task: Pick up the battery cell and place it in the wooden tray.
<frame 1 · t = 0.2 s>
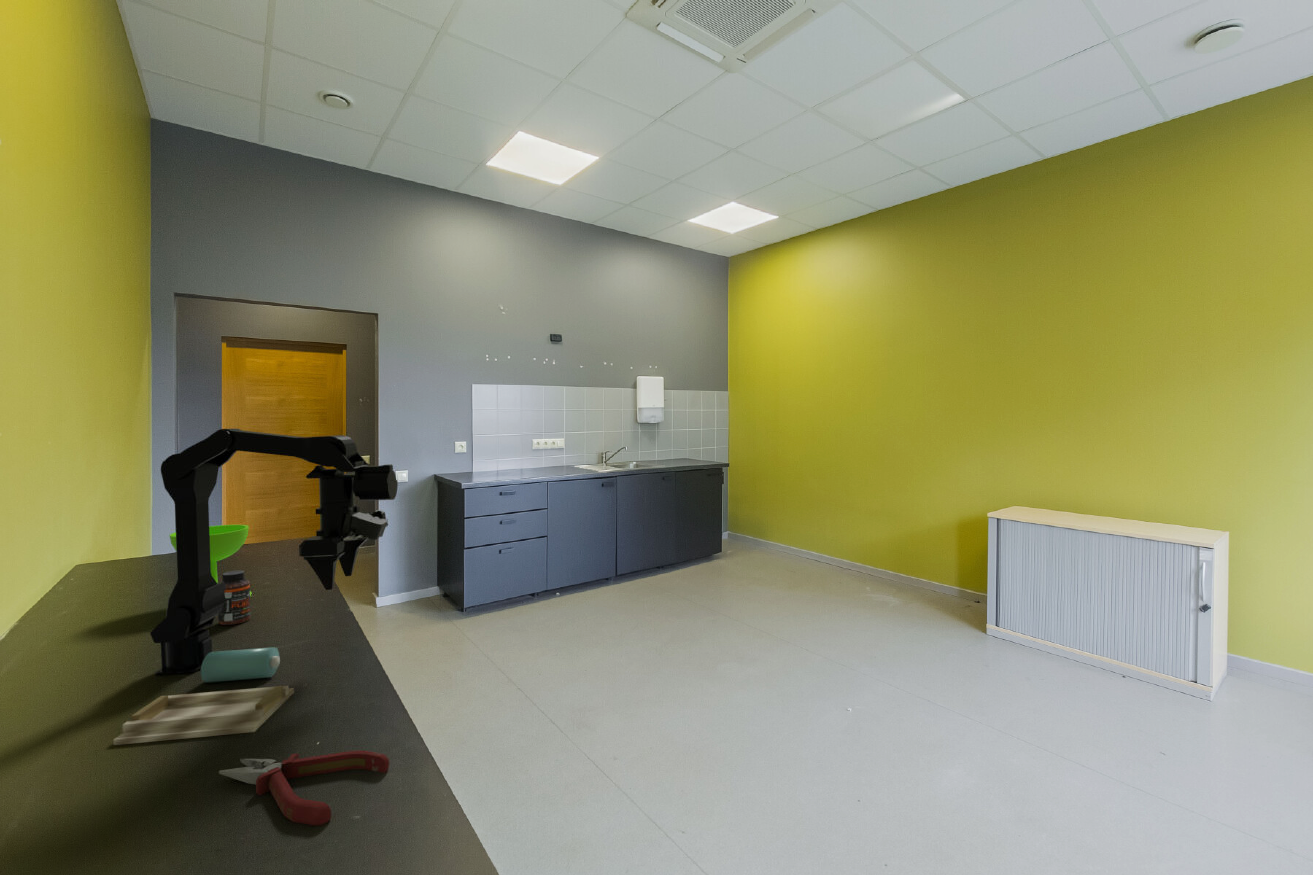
hand: (339, 582, 108), 14 cm above the table, tool pointing down, fingers open, 9 cm apart
pliers: (310, 782, 71), on the table
battery cell: (242, 678, 100), on the table
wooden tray: (211, 716, 87), on the table
supplement bottle: (235, 622, 129), on the table
green tapered container: (213, 600, 145), on the table
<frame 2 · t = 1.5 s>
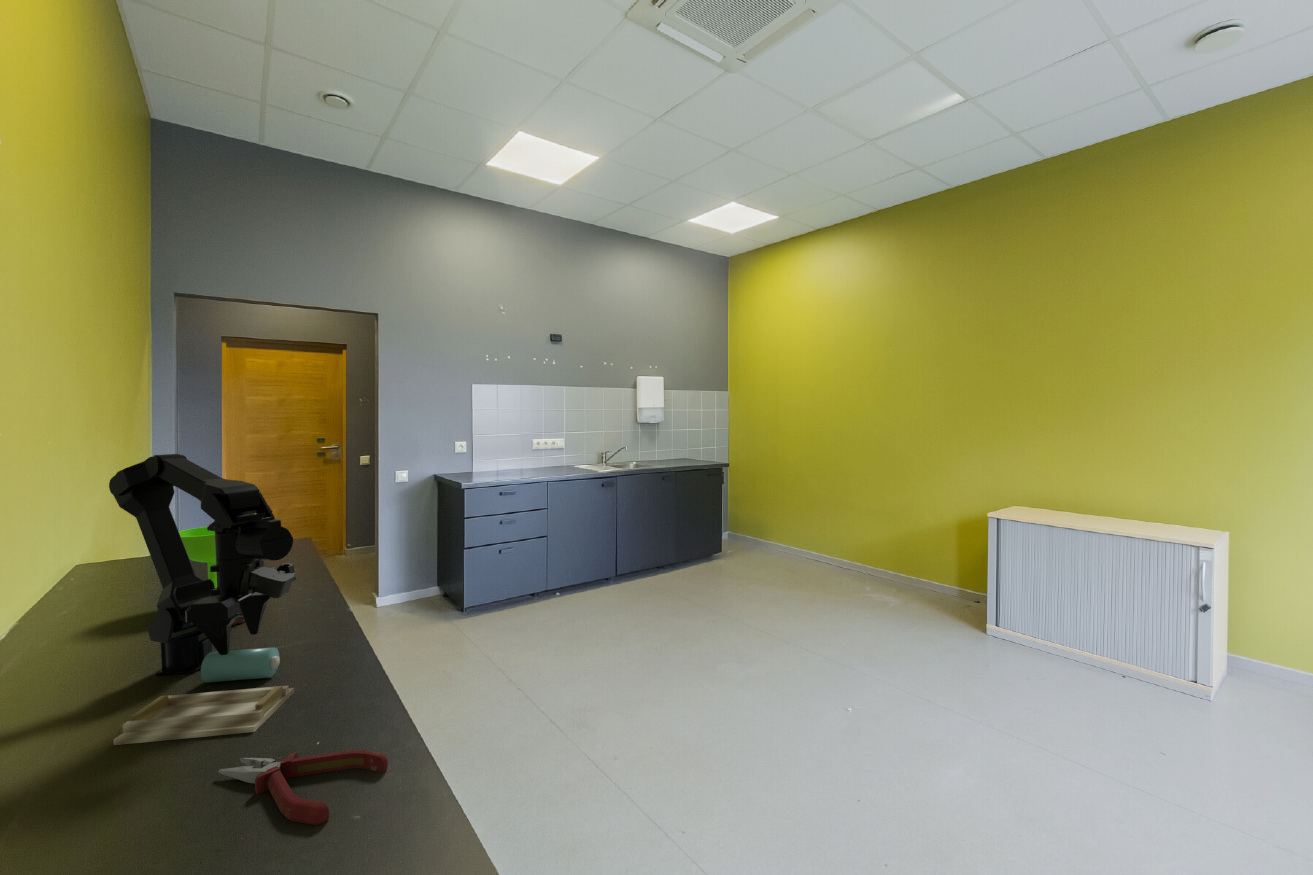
hand: (240, 643, 100), 6 cm above the table, tool pointing down, fingers open, 9 cm apart
nothing on the table moved.
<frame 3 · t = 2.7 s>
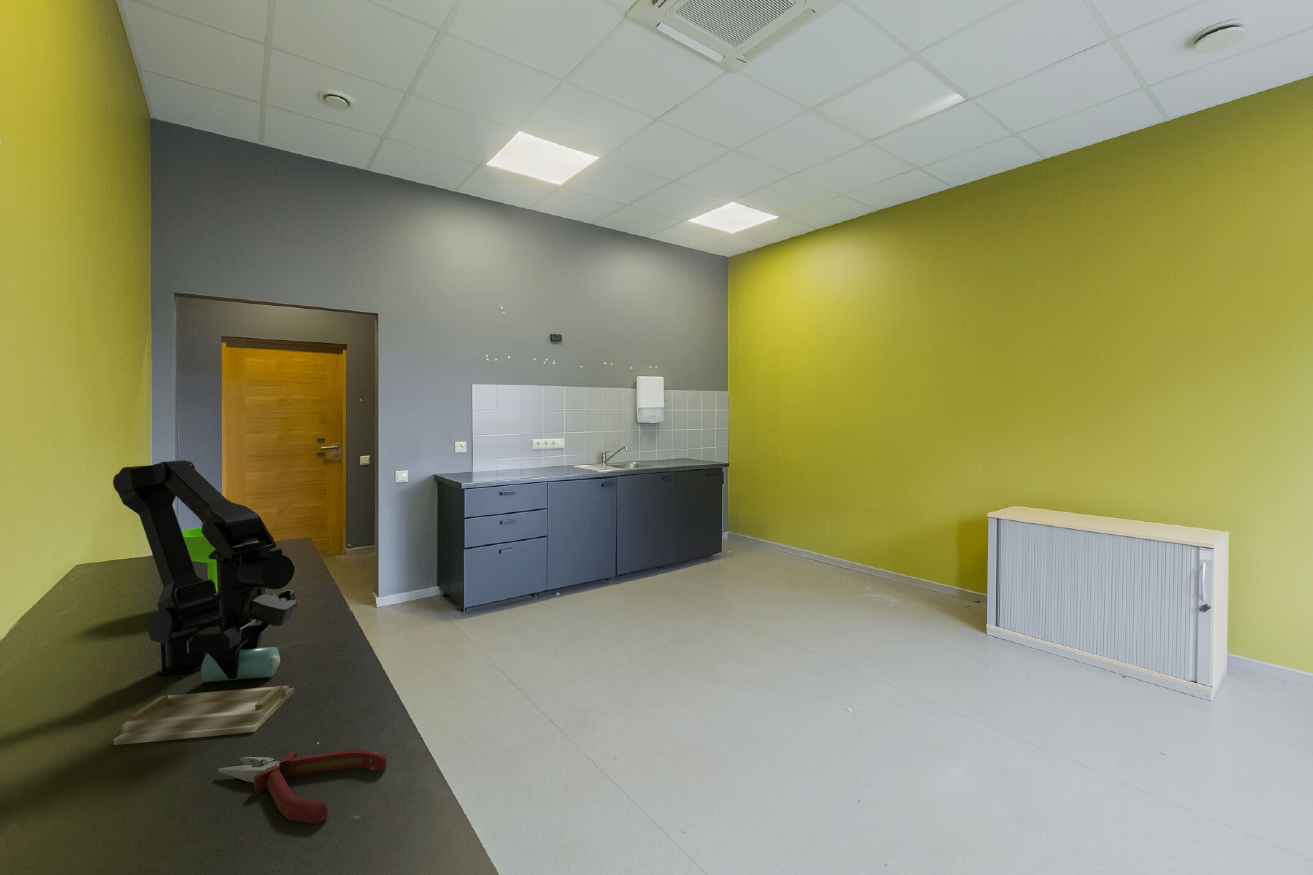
hand: (241, 671, 100), 1 cm above the table, tool pointing down, fingers closed on battery cell, 5 cm apart
battery cell: (242, 677, 100), on the table, touching gripper
everything else where it was.
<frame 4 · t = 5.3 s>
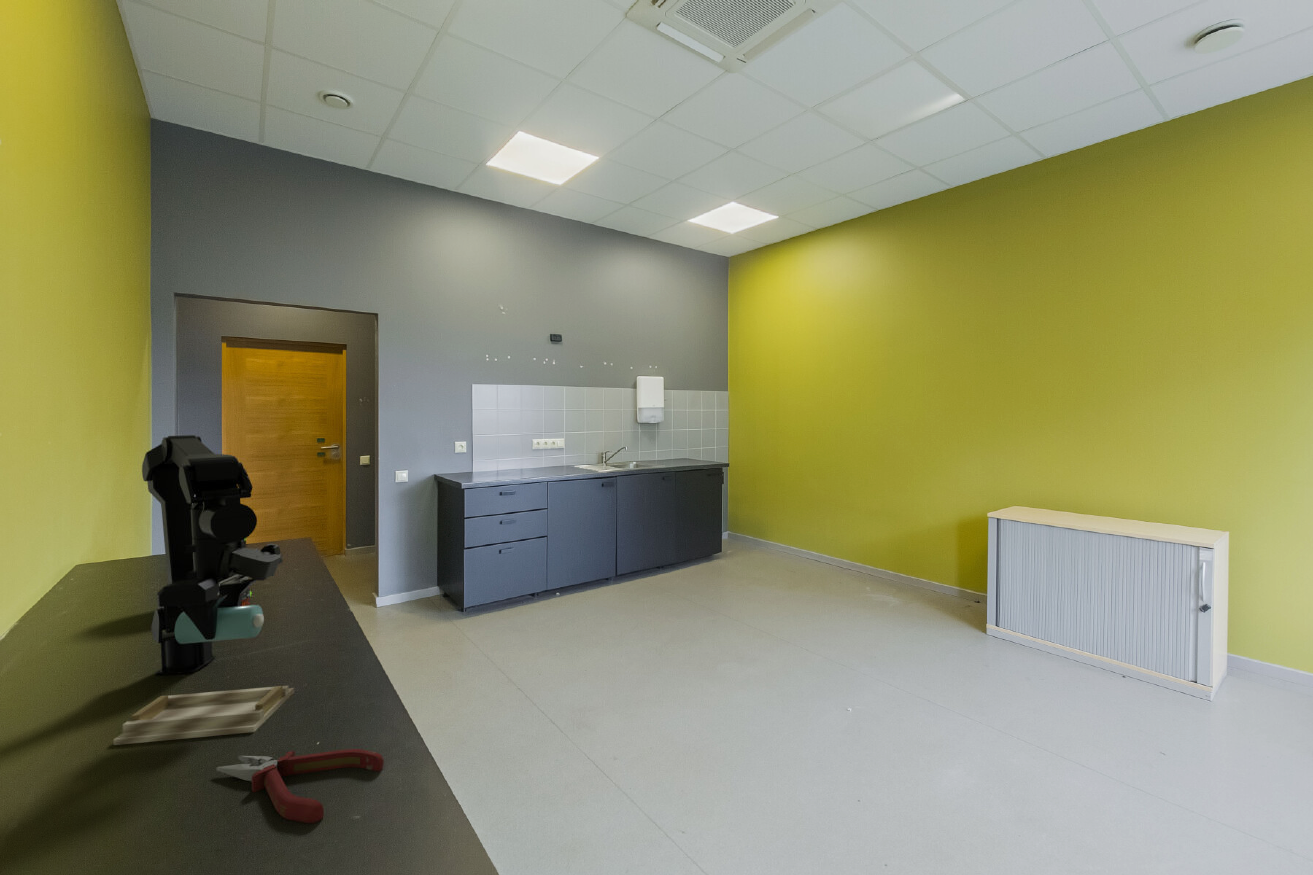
hand: (220, 633, 90), 12 cm above the table, tool pointing down, fingers closed on battery cell, 5 cm apart
battery cell: (221, 639, 90), point 10 cm above the table, touching gripper
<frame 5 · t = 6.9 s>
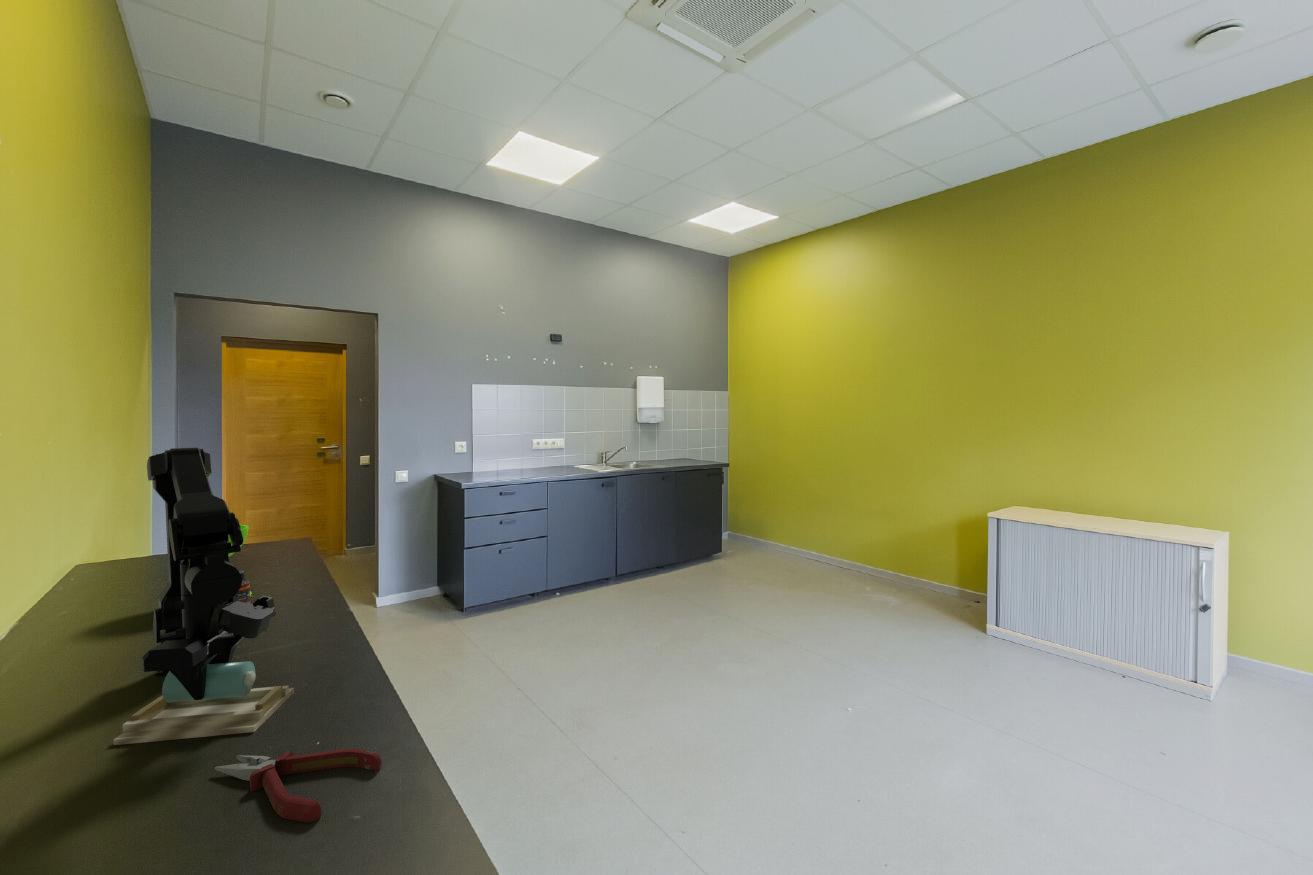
hand: (210, 690, 87), 4 cm above the table, tool pointing down, fingers closed on battery cell, 5 cm apart
battery cell: (211, 697, 87), point 3 cm above the table, touching gripper
when the fingers open (3 cm above the table, at t = 7.8 s): battery cell drops 2 cm, resting on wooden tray.
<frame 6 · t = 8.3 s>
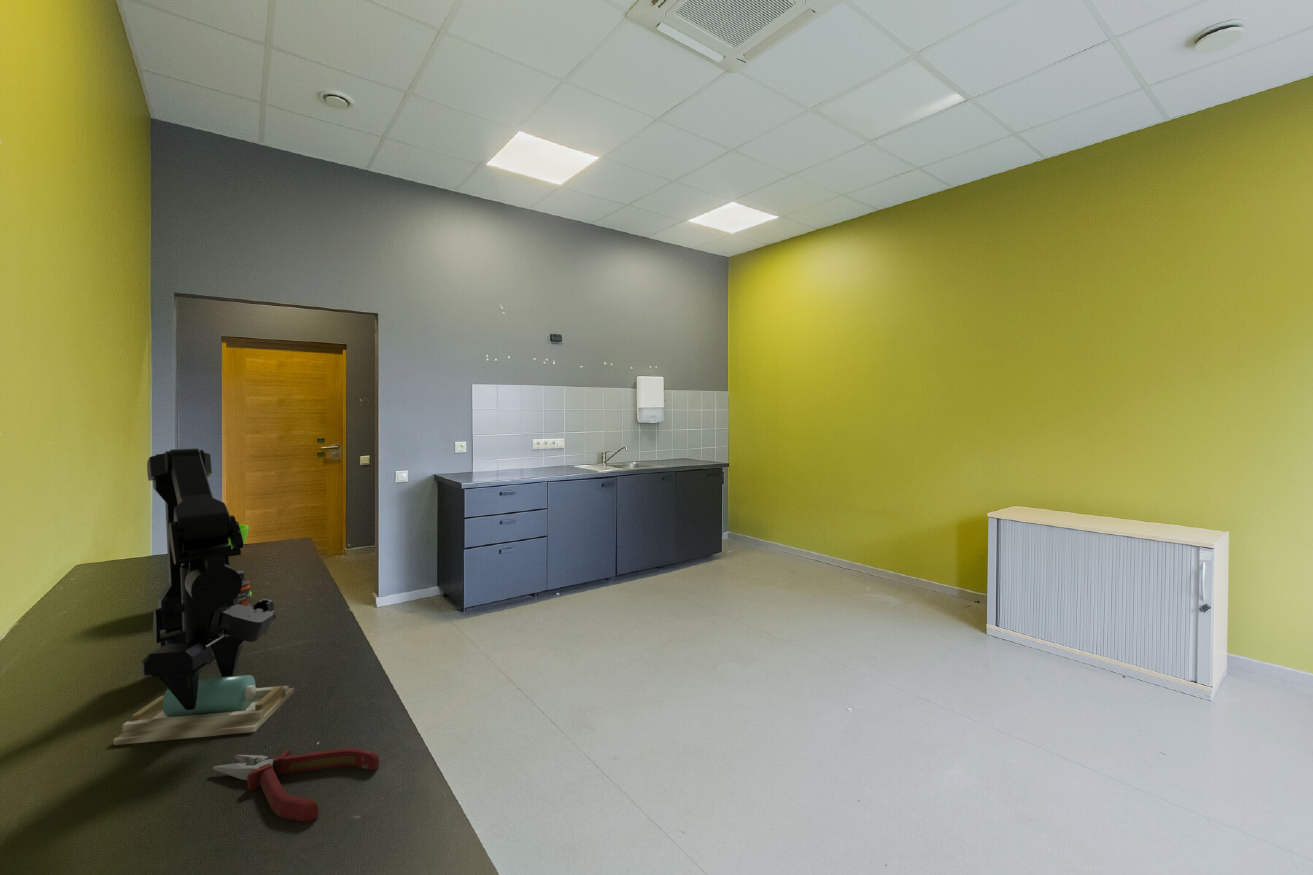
hand: (210, 694, 87), 3 cm above the table, tool pointing down, fingers open, 9 cm apart
battery cell: (211, 711, 87), point 1 cm above the table, touching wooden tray
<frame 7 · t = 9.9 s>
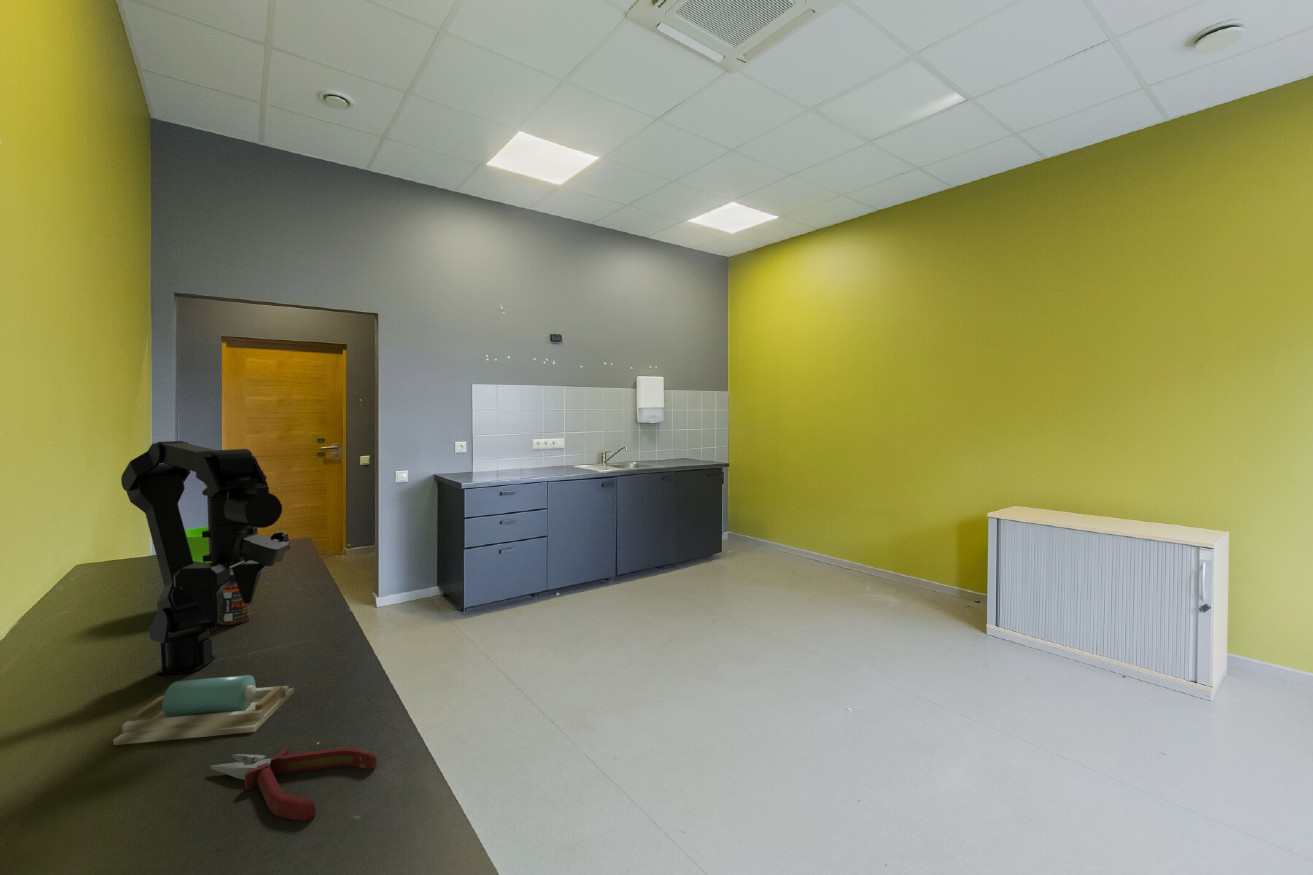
hand: (232, 612, 98), 12 cm above the table, tool pointing down, fingers open, 9 cm apart
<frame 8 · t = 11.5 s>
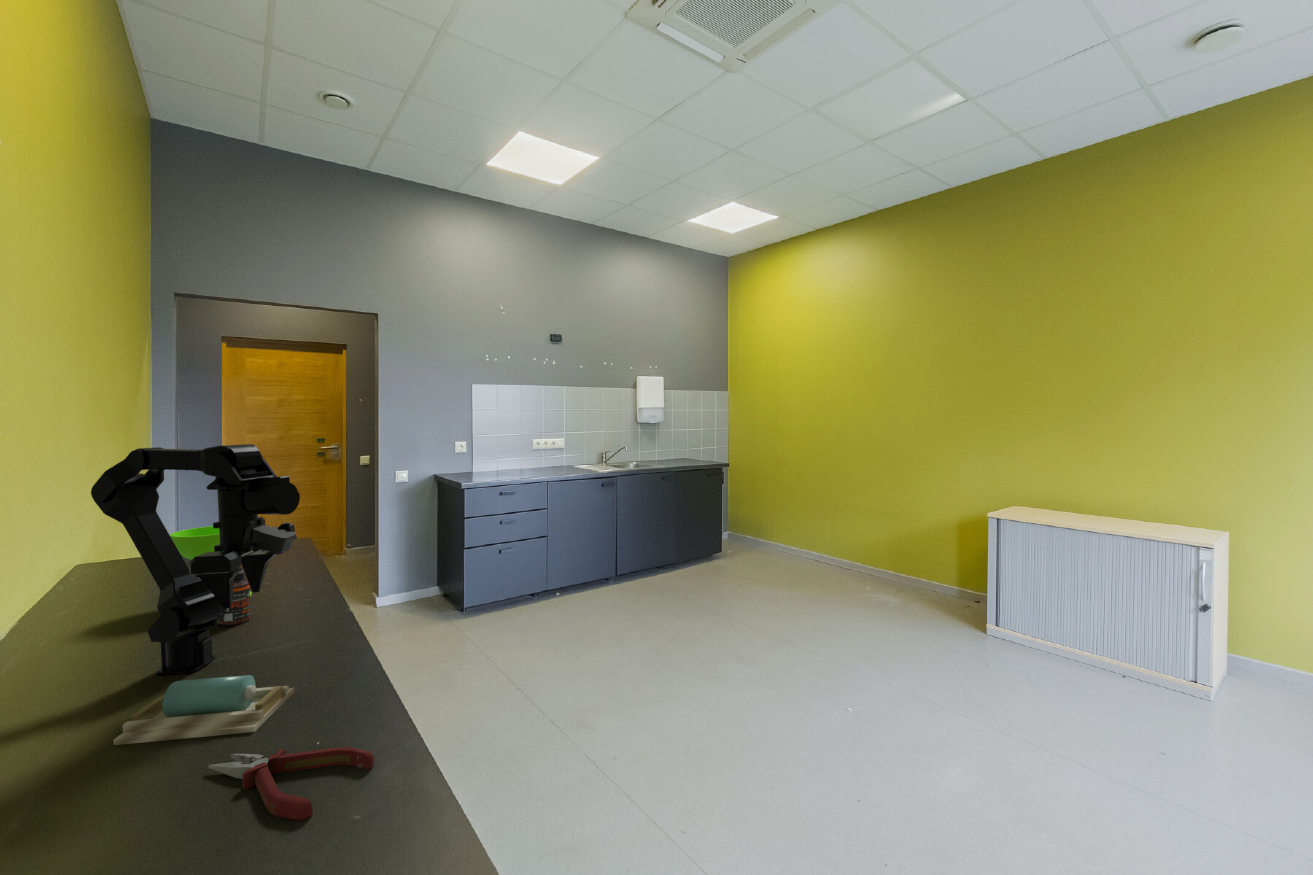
hand: (242, 599, 102), 13 cm above the table, tool pointing down, fingers open, 9 cm apart
at the end: battery cell 0.1 cm off-centre on the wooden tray, point 0.8 cm above the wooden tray's base; the gripper is holding nothing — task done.
